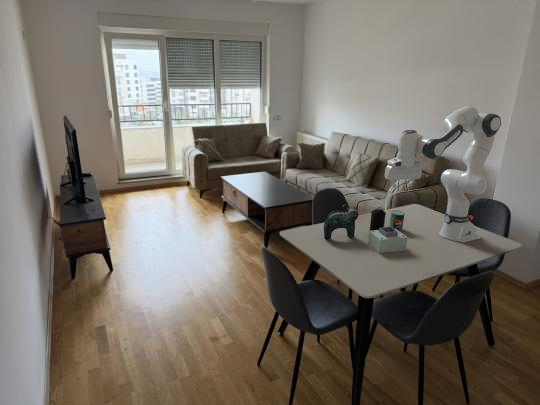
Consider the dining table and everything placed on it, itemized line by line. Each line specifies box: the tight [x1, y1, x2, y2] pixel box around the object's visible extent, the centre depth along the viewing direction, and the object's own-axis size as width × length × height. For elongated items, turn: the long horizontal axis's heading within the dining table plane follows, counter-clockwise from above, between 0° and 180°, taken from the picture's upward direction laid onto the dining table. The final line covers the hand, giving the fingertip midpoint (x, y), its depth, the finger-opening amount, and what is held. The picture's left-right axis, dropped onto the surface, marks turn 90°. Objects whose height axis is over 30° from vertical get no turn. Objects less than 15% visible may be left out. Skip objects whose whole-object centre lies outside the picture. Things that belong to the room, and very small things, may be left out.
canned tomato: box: [388, 209, 405, 232], centre depth 229 cm, size 8×8×11 cm
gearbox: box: [367, 226, 408, 254], centre depth 205 cm, size 16×12×10 cm
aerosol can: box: [367, 204, 387, 238], centre depth 214 cm, size 8×8×20 cm
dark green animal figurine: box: [323, 204, 359, 241], centre depth 214 cm, size 20×6×20 cm, turn 104°
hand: (401, 186), depth 201 cm, fingers open, 8 cm apart
